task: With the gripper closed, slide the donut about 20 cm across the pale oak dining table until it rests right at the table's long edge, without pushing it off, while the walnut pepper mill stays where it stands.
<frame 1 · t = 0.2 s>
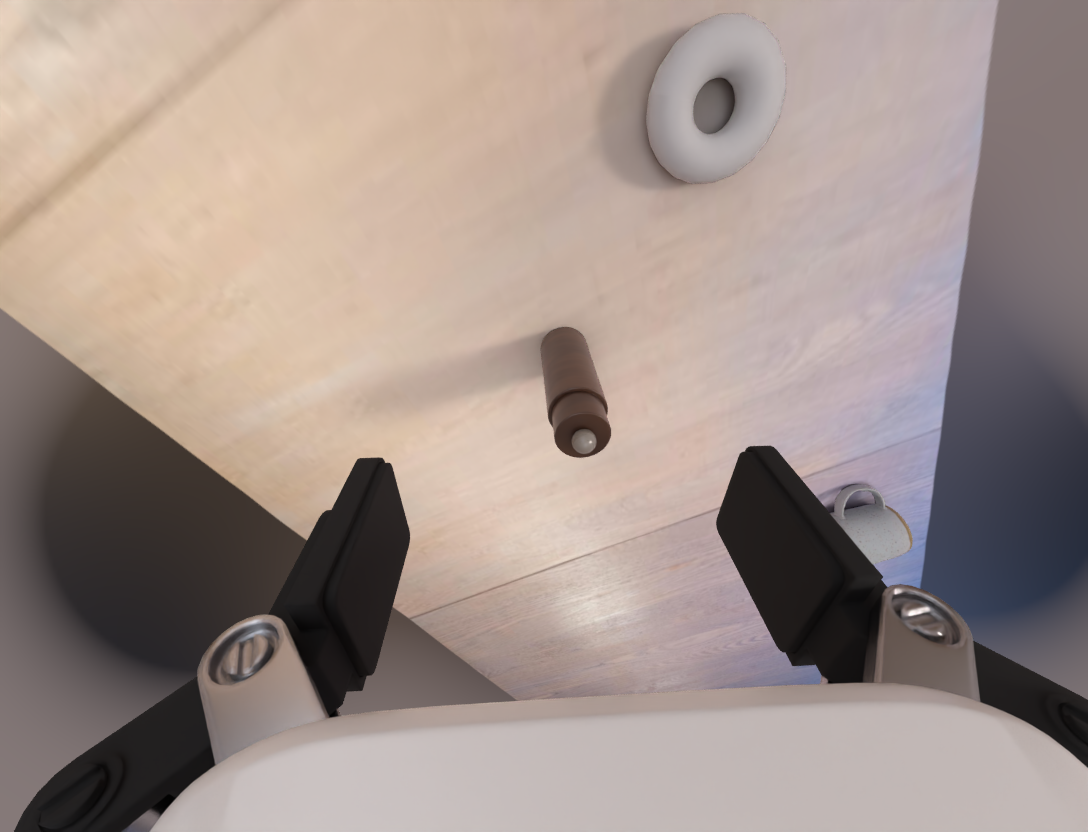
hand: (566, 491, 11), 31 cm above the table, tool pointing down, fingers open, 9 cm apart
pepper mill: (563, 348, 42), on the table
donut: (704, 108, 32), on the table
ceramic mug: (844, 507, 59), on the table
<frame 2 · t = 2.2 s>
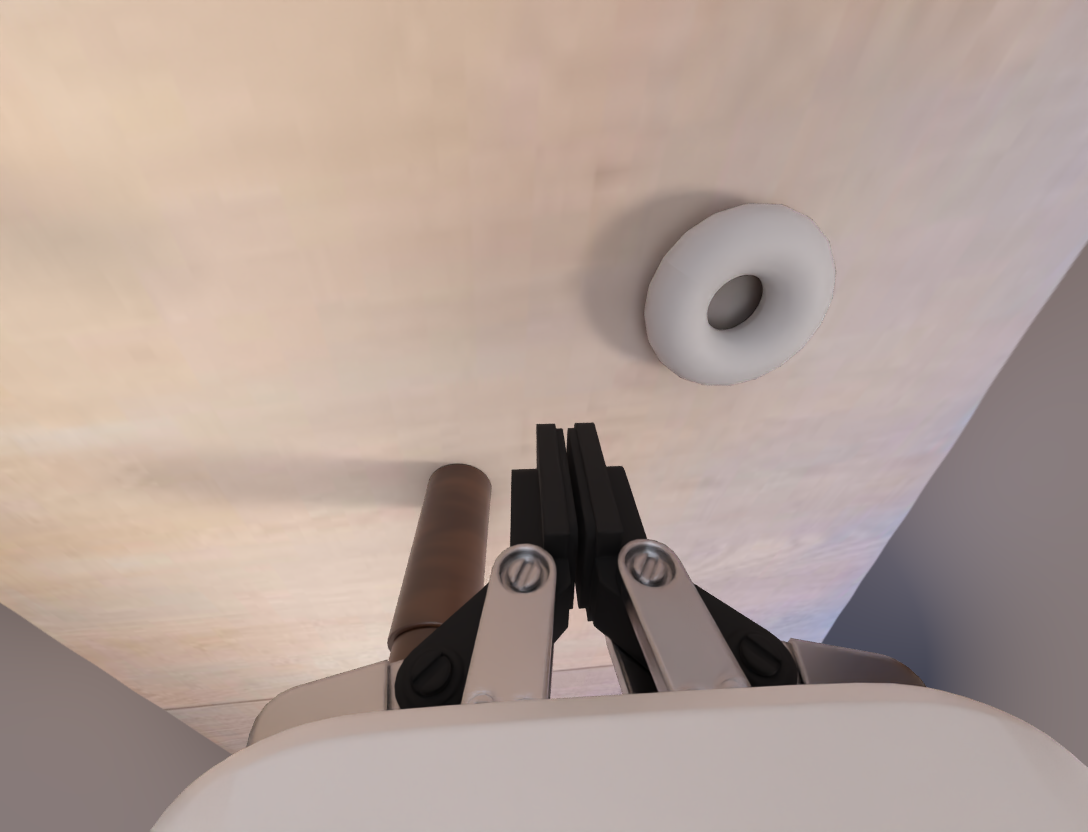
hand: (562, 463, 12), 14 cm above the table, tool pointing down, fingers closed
pepper mill: (460, 486, 32), on the table
donut: (721, 293, 24), on the table
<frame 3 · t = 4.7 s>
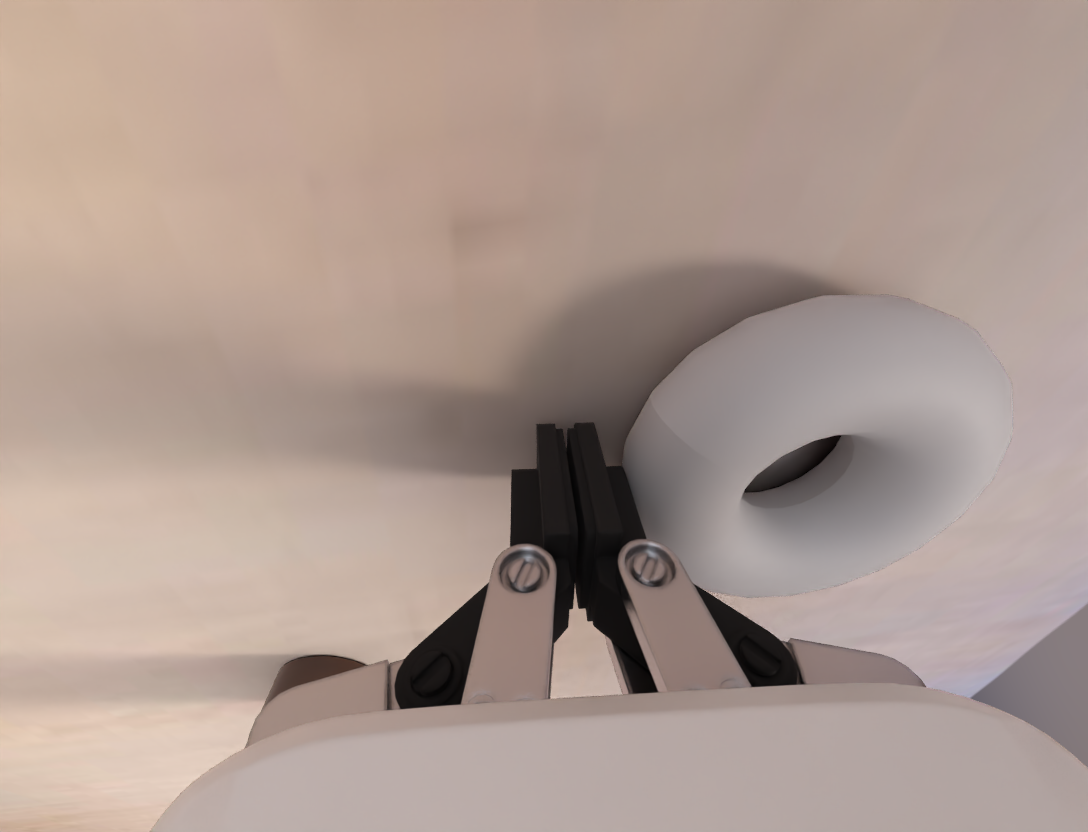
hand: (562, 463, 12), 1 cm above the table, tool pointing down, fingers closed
pepper mill: (330, 678, 21), on the table
donut: (760, 429, 13), on the table, touching gripper
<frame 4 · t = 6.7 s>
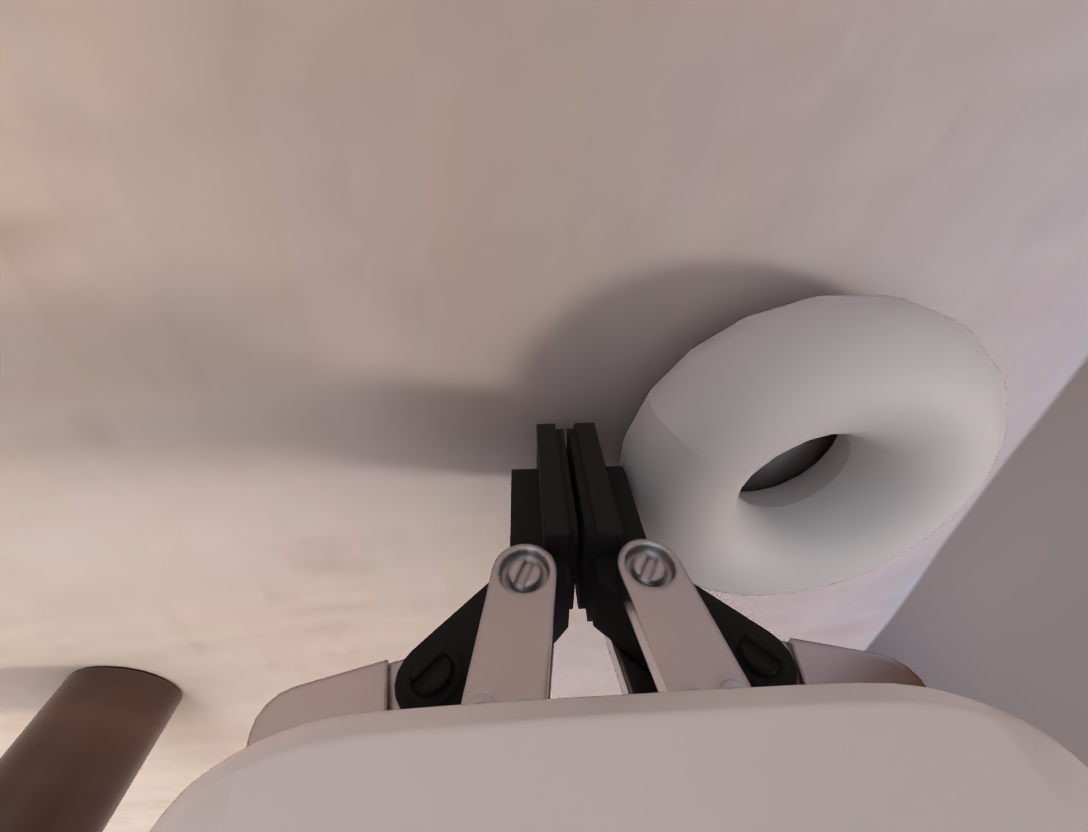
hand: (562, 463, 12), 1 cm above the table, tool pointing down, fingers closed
pepper mill: (127, 689, 20), on the table
donut: (757, 429, 13), on the table, touching gripper
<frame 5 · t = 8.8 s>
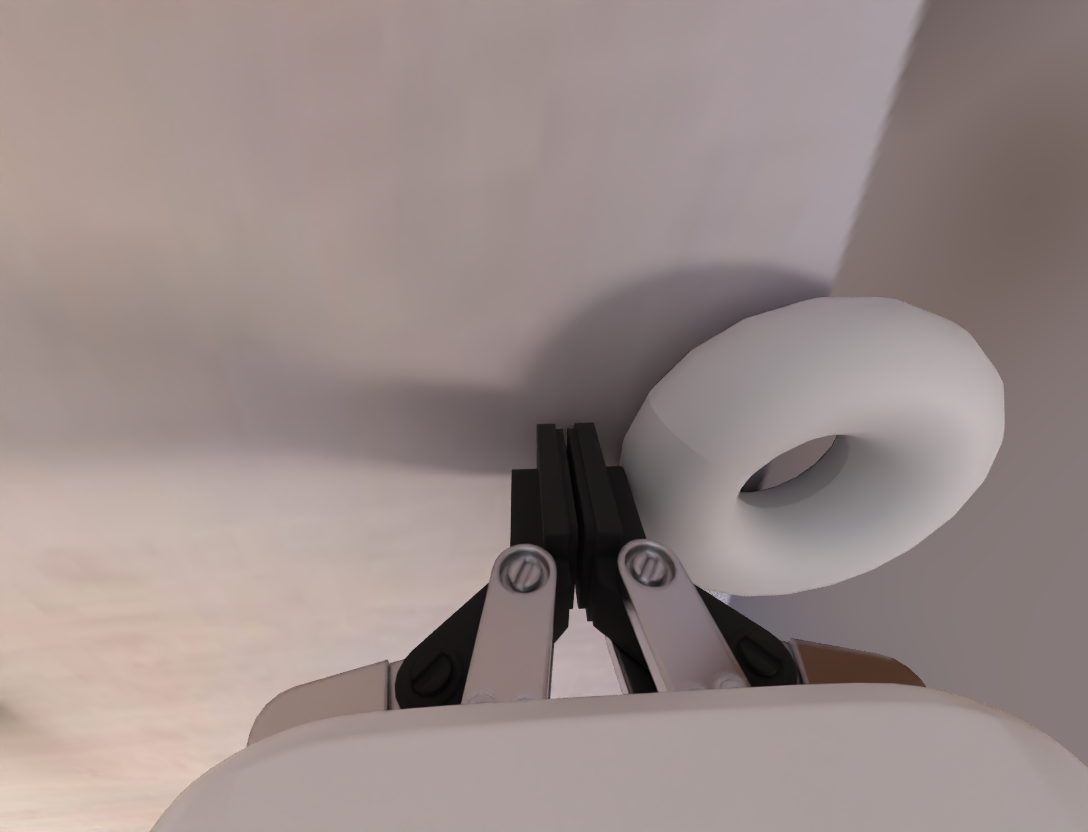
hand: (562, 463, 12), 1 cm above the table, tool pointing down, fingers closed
donut: (757, 429, 13), on the table, touching gripper
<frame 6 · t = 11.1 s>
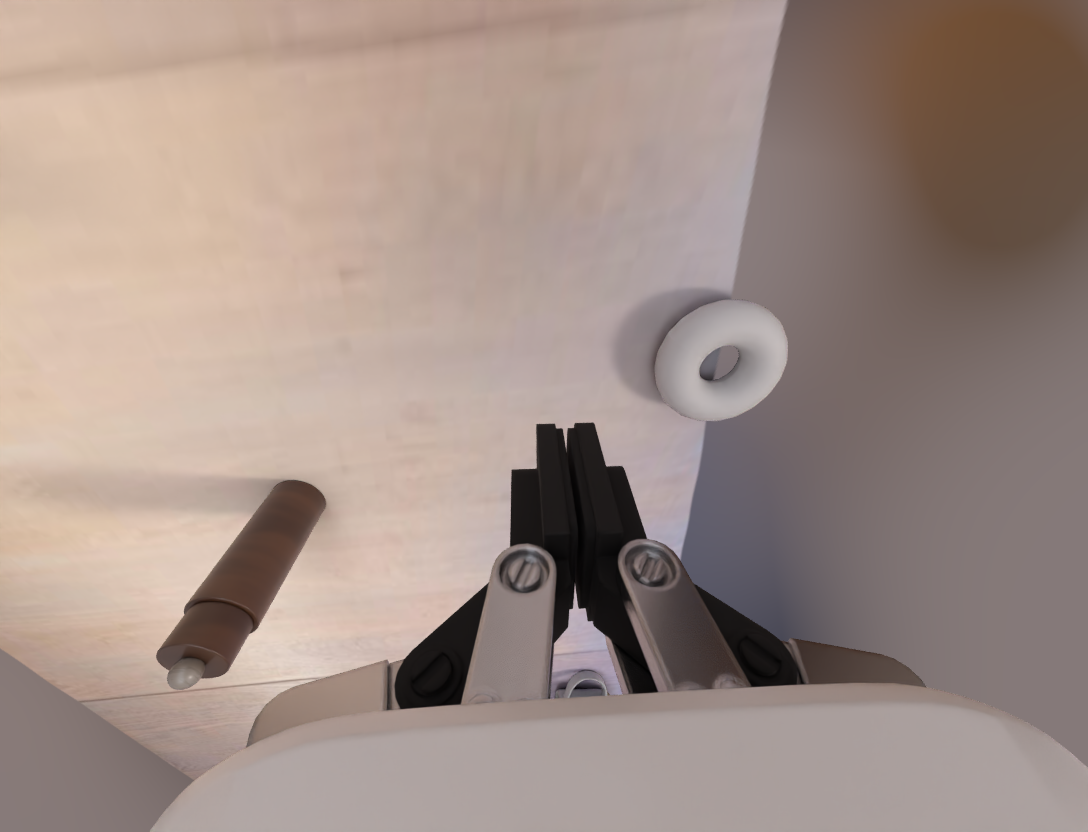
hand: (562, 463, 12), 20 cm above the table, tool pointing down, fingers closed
pepper mill: (299, 499, 39), on the table
donut: (709, 354, 33), on the table
ceramic mug: (580, 685, 62), on the table
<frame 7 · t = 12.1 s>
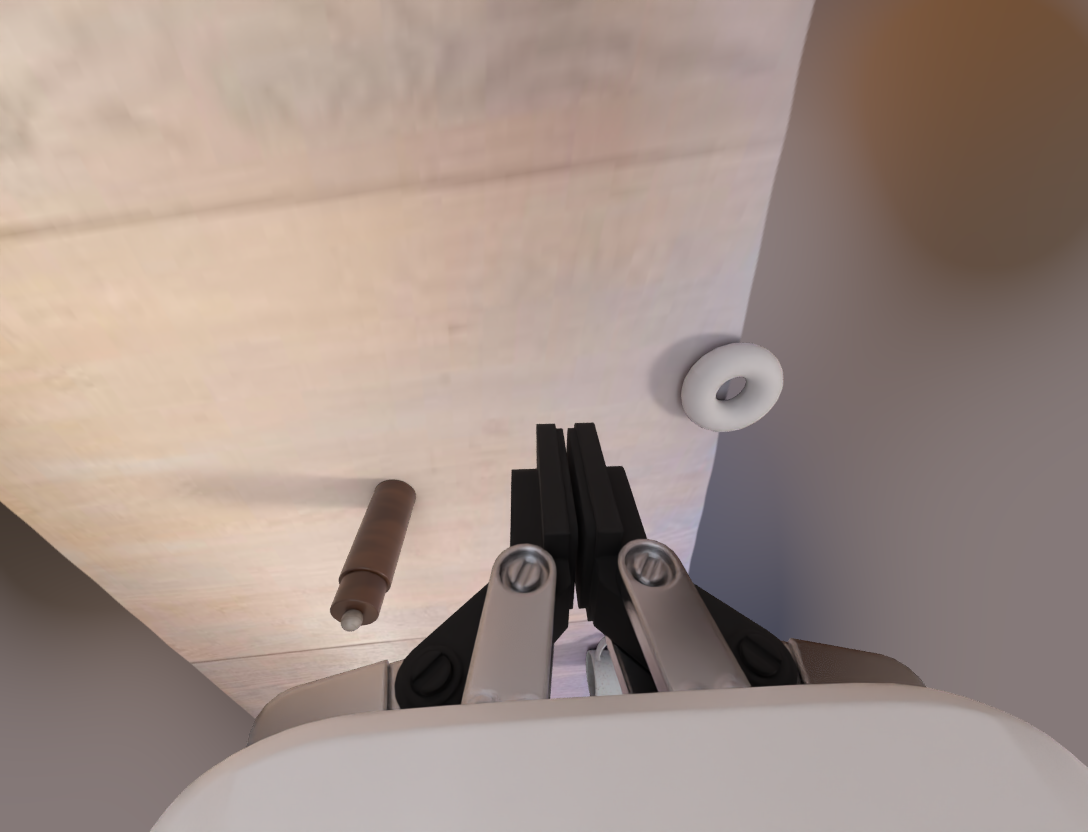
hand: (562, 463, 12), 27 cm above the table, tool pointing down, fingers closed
pepper mill: (395, 494, 49), on the table
donut: (723, 380, 43), on the table
ceramic mug: (607, 647, 73), on the table
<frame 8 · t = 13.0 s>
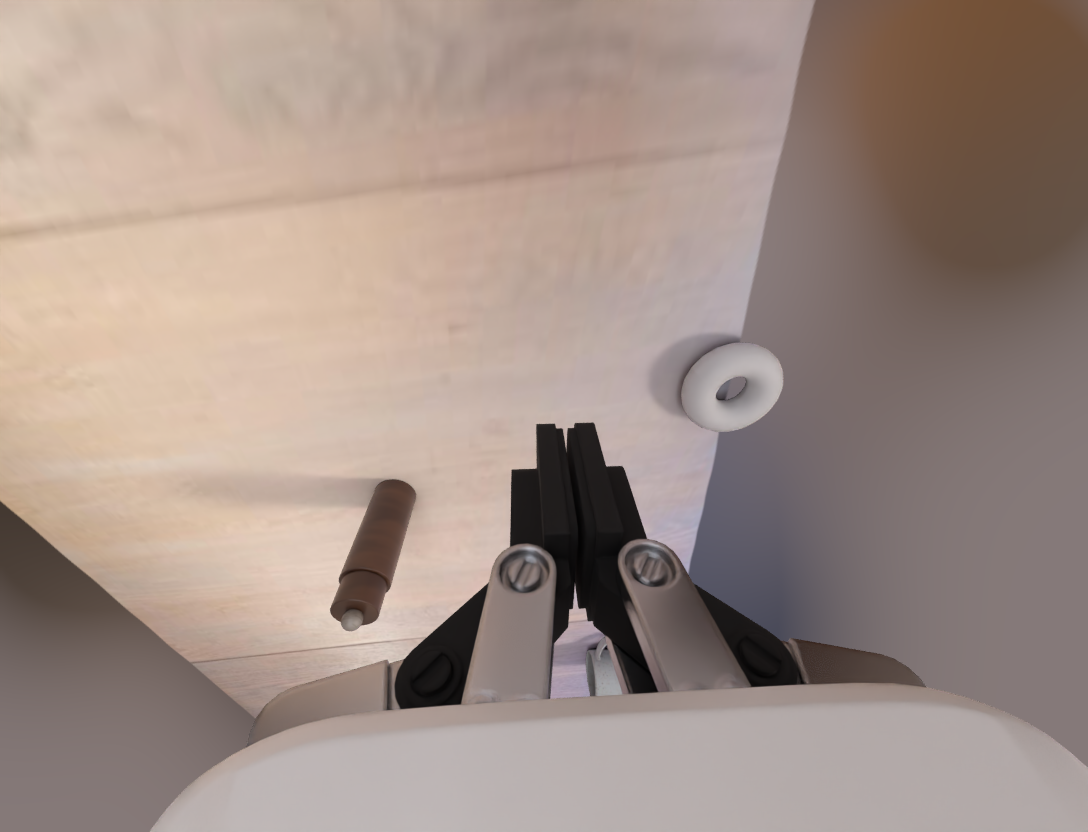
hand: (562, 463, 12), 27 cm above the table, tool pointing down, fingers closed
pepper mill: (395, 494, 49), on the table
donut: (723, 380, 43), on the table
ceramic mug: (607, 646, 73), on the table
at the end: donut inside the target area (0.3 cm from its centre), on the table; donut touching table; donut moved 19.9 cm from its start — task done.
